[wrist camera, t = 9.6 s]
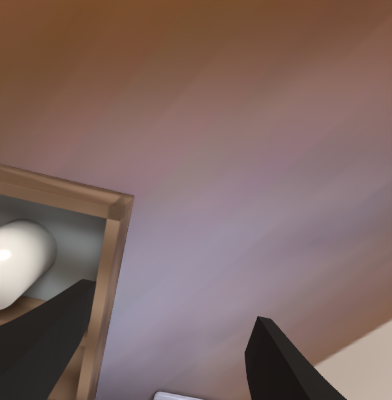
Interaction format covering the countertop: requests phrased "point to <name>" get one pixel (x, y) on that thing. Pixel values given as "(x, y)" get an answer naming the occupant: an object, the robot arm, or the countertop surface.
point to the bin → (71, 258)
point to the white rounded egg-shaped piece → (23, 257)
